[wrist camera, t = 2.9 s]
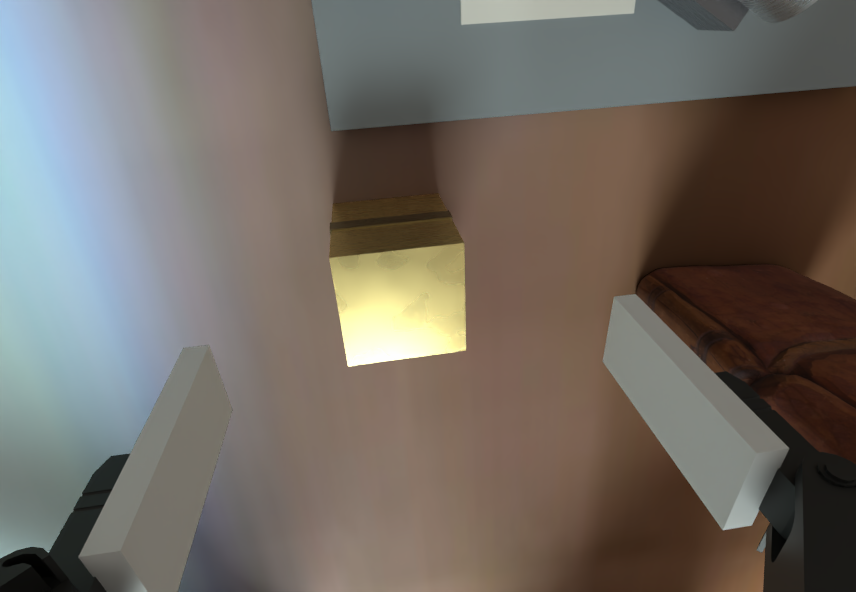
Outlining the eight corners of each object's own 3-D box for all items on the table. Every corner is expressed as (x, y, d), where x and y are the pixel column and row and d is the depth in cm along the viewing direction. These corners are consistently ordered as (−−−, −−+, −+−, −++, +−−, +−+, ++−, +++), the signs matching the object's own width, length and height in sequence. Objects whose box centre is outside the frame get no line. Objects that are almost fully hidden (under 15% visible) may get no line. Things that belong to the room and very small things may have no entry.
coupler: (346, 296, 25) (347, 367, 20) (331, 202, 22) (327, 256, 17) (442, 284, 26) (467, 351, 20) (438, 191, 23) (465, 241, 18)
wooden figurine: (609, 349, 30) (896, 709, 14) (638, 255, 26) (1047, 585, 11) (777, 342, 31) (1192, 655, 16) (822, 254, 28) (1393, 536, 13)
